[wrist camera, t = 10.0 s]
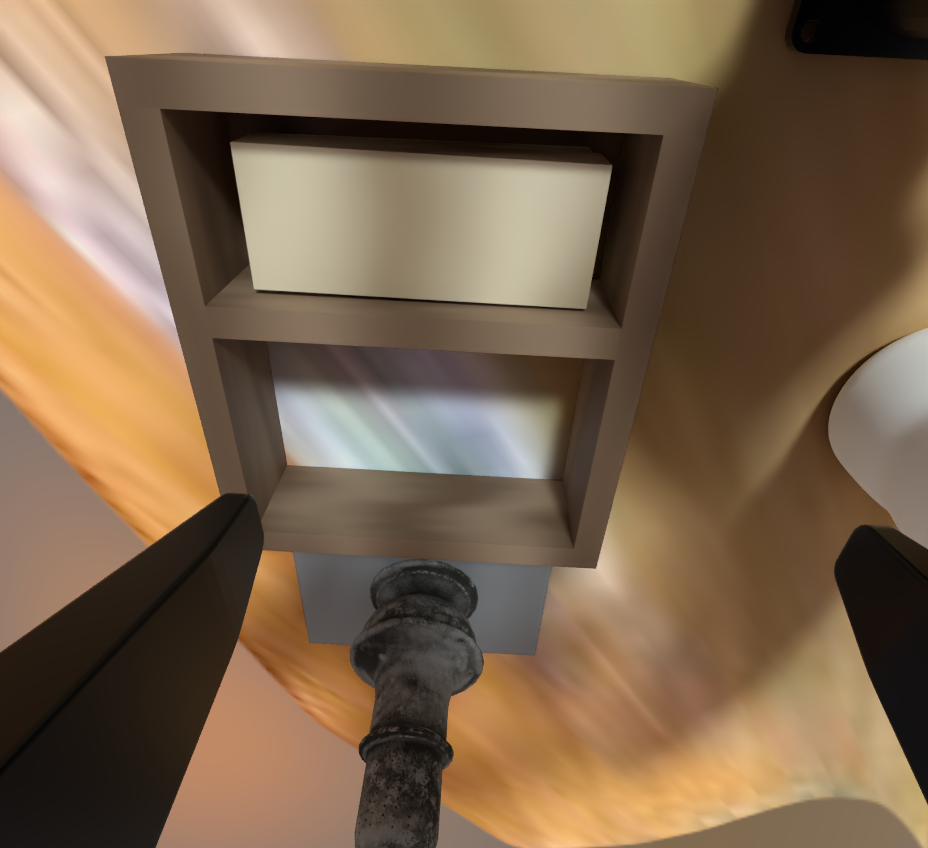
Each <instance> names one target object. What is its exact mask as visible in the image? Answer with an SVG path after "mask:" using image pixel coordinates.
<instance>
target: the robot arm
mask: <svg viewBox="0 0 928 848" xmlns="http://www.w3.org/2000/svg"><path fill="white" fill-rule="evenodd" d="M810 20H812V21H813V23H814V25H815V30H814V33H813V35H812V37H811V38H810V39H809V40H807V41H806V42H805V41H803V39H802V37H801V35H802V29H803V27H804V25H805V24H806V23H807V22H808V21H810ZM785 40H786V45H787V47H788V48H789V49H790V50H791V51H793V52H796V53H806V54H825V55H844V56H863V57H883V58H902V59H921V60H928V0H795V2H794V6H793V9H792V12H791V16H790V19H789V22H788V26H787V29H786V35H785ZM263 545H264V531H263V527H262V523H261V519H260V515H259V510H258V506H257V502H256V500H255V498H254V496H252V495H250V494H242V493H226V494H223V495H221V496H220V497H218V498H217V499H216V500H214V501H213V502H211V503H210V504H209V505H207V506H206V507H204V508H203V509H201V510H200V511H199V512H197V513H196V514H194V515H193V516H192V517H190V518H189V519H187V520H186V521H185V522H183V523H182V524H180V525H179V526H178V527H176V528H175V529H173V530H172V531H170V532H169V533H168V534H166V535H165V536H163V537H162V538H161V539H159V540H158V541H156V542H155V543H154V544H152V545H151V546H149V547H148V548H147V549H145V550H144V551H142V552H141V553H139V554H138V555H137V556H135V557H134V558H132V559H131V560H130V561H128V562H127V563H125V565H123V566H121V567H120V568H118V569H117V570H116V571H114V572H113V573H111V574H110V575H108V576H107V577H106V578H104V579H103V580H101V581H100V582H99V583H97V584H96V585H94V586H93V587H92V588H90V589H89V590H88V591H86V592H85V593H83V594H82V595H80V596H79V597H78V598H76V599H75V600H74V601H72V602H70V603H69V604H68V605H66V606H65V607H63V608H62V609H61V610H59V611H58V612H56V613H55V614H54V615H52V616H51V617H49V618H48V619H47V620H45V621H44V622H42V623H41V624H40V625H38V626H37V627H35V628H34V629H32V630H31V631H30V632H28V633H27V634H25V635H24V636H23V637H21V638H20V639H19V640H17V641H16V642H14V643H13V644H11V645H10V646H8V647H7V648H6V649H4V650H3V651H2V652H0V848H155V847H156V845H157V843H158V840H159V838H160V835H161V833H162V830H163V828H164V825H165V823H166V820H167V817H168V815H169V813H170V810H171V808H172V805H173V803H174V800H175V797H176V795H177V792H178V790H179V787H180V785H181V782H182V780H183V777H184V775H185V772H186V770H187V767H188V764H189V762H190V760H191V757H192V754H193V752H194V750H195V747H196V745H197V742H198V740H199V737H200V735H201V732H202V730H203V727H204V724H205V722H206V719H207V717H208V714H209V712H210V709H211V707H212V704H213V702H214V699H215V697H216V694H217V692H218V689H219V687H220V684H221V682H222V679H223V676H224V674H225V672H226V669H227V667H228V664H229V662H230V659H231V657H232V654H233V651H234V648H235V646H236V643H237V640H238V637H239V634H240V630H241V627H242V623H243V620H244V616H245V612H246V609H247V605H248V601H249V598H250V594H251V590H252V587H253V583H254V579H255V576H256V572H257V568H258V565H259V561H260V557H261V554H262V550H263ZM834 574H835V579H836V582H837V585H838V588H839V591H840V594H841V597H842V600H843V603H844V606H845V609H846V612H847V615H848V618H849V621H850V623H851V626H852V629H853V632H854V635H855V638H856V641H857V644H858V647H859V650H860V653H861V656H862V659H863V661H864V664H865V667H866V669H867V672H868V675H869V677H870V679H871V682H872V684H873V686H874V689H875V691H876V693H877V695H878V698H879V700H880V702H881V704H882V706H883V708H884V711H885V713H886V715H887V717H888V719H889V721H890V724H891V726H892V728H893V730H894V732H895V735H896V737H897V739H898V741H899V743H900V745H901V748H902V750H903V752H904V754H905V756H906V758H907V761H908V763H909V765H910V767H911V769H912V772H913V774H914V776H915V778H916V780H917V782H918V785H919V787H920V789H921V791H922V793H923V795H924V798H925V800H926V802H927V804H928V549H927V548H925V547H924V546H922V545H921V544H919V543H917V542H916V541H914V540H912V539H911V538H909V537H908V536H906V535H904V534H903V533H901V532H900V531H898V530H896V529H894V528H892V527H889V526H879V525H861V526H859V527H857V528H856V529H855V530H854V531H853V533H852V534H851V536H850V538H849V539H848V541H847V543H846V544H845V546H844V548H843V550H842V551H841V553H840V555H839V556H838V558H837V560H836V562H835V566H834Z"/></svg>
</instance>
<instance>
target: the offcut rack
mask: <svg viewBox="0 0 928 848" xmlns="http://www.w3.org/2000/svg"><path fill="white" fill-rule="evenodd" d="M105 59H106V63H107V66H108V70H109V74H110V78H111V82H112V85H113V89H114V93H115V97H116V101H117V104H118V108H119V112H120V116H121V120H122V123H123V127H124V131H125V135H126V139H127V142H128V146H129V150H130V154H131V158H132V161H133V165H134V169H135V173H136V177H137V180H138V184H139V188H140V192H141V196H142V199H143V203H144V207H145V211H146V215H147V218H148V222H149V226H150V230H151V234H152V237H153V241H154V245H155V249H156V252H157V256H158V260H159V264H160V268H161V271H162V275H163V279H164V283H165V287H166V290H167V294H168V298H169V302H170V306H171V309H172V313H173V317H174V321H175V325H176V328H177V332H178V336H179V340H180V344H181V347H182V351H183V355H184V359H185V363H186V366H187V370H188V374H189V378H190V382H191V385H192V389H193V393H194V397H195V401H196V404H197V408H198V412H199V416H200V420H201V423H202V427H203V431H204V435H205V439H206V442H207V446H208V450H209V454H210V458H211V461H212V465H213V469H214V473H215V477H216V480H217V484H218V488H219V492H220V495H223V494H226V493H242V494H250V495H252V496H254V498H255V500H256V502H257V506H258V510H259V515H260V519H261V523H262V527H263V531H264V545H263V550H271V551H289V552H307V553H325V554H343V555H361V556H379V557H397V558H415V559H433V560H451V561H469V562H487V563H505V564H523V565H541V566H559V567H577V568H595V569H596V566H597V562H598V558H599V554H600V550H601V547H602V543H603V539H604V535H605V531H606V527H607V523H608V519H609V515H610V511H611V507H612V503H613V499H614V495H615V492H616V488H617V484H618V480H619V476H620V472H621V468H622V464H623V460H624V456H625V452H626V448H627V444H628V440H629V437H630V433H631V429H632V425H633V421H634V417H635V413H636V409H637V405H638V401H639V397H640V393H641V389H642V385H643V382H644V378H645V374H646V370H647V366H648V362H649V358H650V354H651V350H652V346H653V342H654V338H655V334H656V330H657V327H658V323H659V319H660V315H661V311H662V307H663V303H664V299H665V295H666V291H667V287H668V283H669V279H670V275H671V272H672V268H673V264H674V260H675V256H676V252H677V248H678V244H679V240H680V236H681V232H682V228H683V224H684V220H685V217H686V213H687V209H688V205H689V201H690V197H691V193H692V189H693V185H694V181H695V177H696V173H697V169H698V166H699V162H700V158H701V154H702V150H703V146H704V142H705V138H706V134H707V130H708V126H709V122H710V118H711V114H712V111H713V107H714V103H715V99H716V95H717V91H718V88H714V87H709V86H704V85H700V84H695V83H690V82H686V81H681V80H676V79H671V78H654V77H635V76H616V75H596V74H577V73H558V72H539V71H519V70H500V69H481V68H462V67H443V66H423V65H404V64H385V63H366V62H347V61H327V60H308V59H289V58H270V57H251V56H231V55H212V54H193V53H171V54H149V55H127V56H105ZM227 112H233V113H252V114H271V115H291V116H310V117H329V118H348V119H367V120H386V121H405V122H424V123H443V124H462V125H481V126H500V127H519V128H538V129H557V130H576V131H595V132H615V133H626V134H625V140H624V145H623V150H622V156H621V161H620V167H619V172H618V178H617V183H616V189H615V194H614V200H613V205H612V211H611V216H610V222H609V227H608V233H607V238H606V244H605V249H604V255H603V260H602V266H601V271H600V277H599V280H592V281H591V286H590V292H589V297H588V302H587V308H586V309H577V308H561V307H544V306H527V305H510V304H493V303H477V302H460V301H443V300H426V299H409V298H393V297H376V296H359V295H342V294H325V293H309V292H292V291H275V290H258V289H254V286H253V280H252V273H251V267H250V261H249V255H248V249H247V243H246V237H245V231H244V224H243V218H242V212H241V206H240V200H239V194H238V188H237V182H236V175H235V169H234V163H233V157H232V151H231V145H230V142H231V141H232V138H231V132H230V126H229V120H228V114H227ZM266 341H275V342H294V343H312V344H331V345H349V346H367V347H386V348H404V349H423V350H441V351H460V352H478V353H497V354H515V355H534V356H552V357H571V358H585V359H584V364H583V370H582V375H581V381H580V386H579V392H578V397H577V403H576V408H575V414H574V419H573V425H572V430H571V436H570V441H569V447H568V452H567V458H566V463H565V469H564V474H563V479H562V480H544V479H526V478H507V477H489V476H471V475H453V474H435V473H416V472H398V471H380V470H362V469H344V468H325V467H307V466H289V465H287V463H286V457H285V451H284V445H283V439H282V433H281V427H280V421H279V415H278V409H277V403H276V398H275V392H274V386H273V380H272V374H271V368H270V362H269V356H268V350H267V344H266Z"/></svg>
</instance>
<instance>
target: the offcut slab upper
mask: <svg viewBox="0 0 928 848" xmlns="http://www.w3.org/2000/svg"><path fill="white" fill-rule="evenodd" d="M230 145H231V151H232V157H233V163H234V169H235V175H236V182H237V188H238V194H239V200H240V206H241V212H242V218H243V224H244V231H245V237H246V243H247V249H248V255H249V261H250V267H251V273H252V280H253V286H254V289H258V290H275V291H292V292H309V293H325V294H342V295H359V296H376V297H393V298H409V299H426V300H443V301H460V302H477V303H493V304H510V305H527V306H544V307H561V308H577V309H586V308H587V302H588V297H589V292H590V286H591V281H592V275H593V270H594V264H595V259H596V253H597V248H598V242H599V237H600V232H601V226H602V221H603V215H604V210H605V204H606V199H607V193H608V188H609V182H610V177H611V172H612V166H613V165H612V164H611V163H610V162H609V161H608V160H607V159H606V158H605V157H604V156H603V155H602V154H596V153H579V152H563V151H547V150H530V149H514V148H497V147H481V146H465V145H448V144H432V143H416V142H399V141H383V140H366V139H350V138H334V137H317V136H301V135H284V134H268V133H251V134H249V135H246V136H244V137H241V138H239V139H236V140H234V141H231V142H230Z"/></svg>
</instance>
